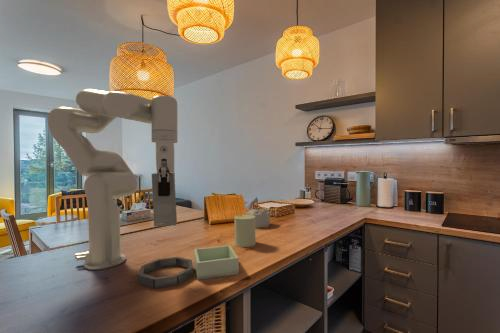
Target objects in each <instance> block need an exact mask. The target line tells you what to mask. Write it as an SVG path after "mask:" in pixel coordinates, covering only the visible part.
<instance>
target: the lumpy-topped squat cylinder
mask: <svg viewBox="0 0 500 333" xmlns="http://www.w3.org/2000/svg"><path fill="white" fill-rule="evenodd" d="M270 212H271V211H269V210H267V209H263V208H260V209H257V208H253V209H251V210H248V211H247V212H246V213H245V215H253V216H255V229H261V228H260V227H263V228H267V227H270V225H271V223H270V222H271V221H270V220H271V218H270V217H271V216H270V215H271V213H270Z"/></svg>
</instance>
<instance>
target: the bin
mask: <svg viewBox="0 0 500 333" xmlns="http://www.w3.org/2000/svg"><path fill="white" fill-rule="evenodd" d="M193 249H194V250H193V256H194V257H193V258H194V259H193V260H194V262H193V266H194V269H195V274H196V280H197V281H201V280H206V279H213V278H220V277H226V276H227V277H228V276H234V275H239V274H240V268H239V267H240V266H239V265H240V264H239V256H238V255H237V253H236V252H235V250H234V249H233V247H232V246H231V244H227V245H220V246H211V247H210V246H209V247H203V248H193Z"/></svg>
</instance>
